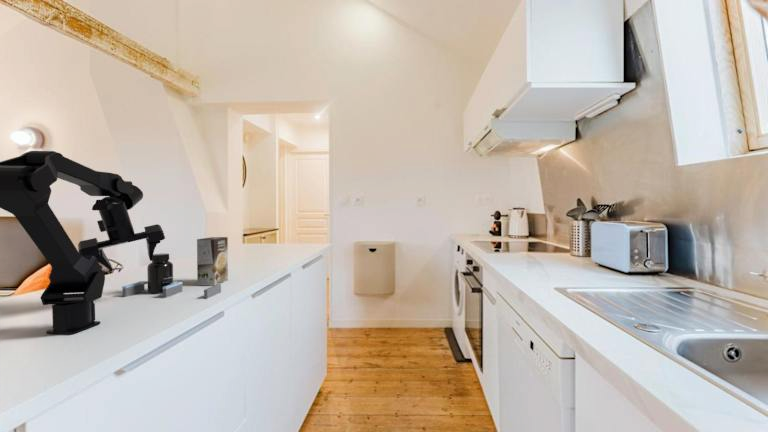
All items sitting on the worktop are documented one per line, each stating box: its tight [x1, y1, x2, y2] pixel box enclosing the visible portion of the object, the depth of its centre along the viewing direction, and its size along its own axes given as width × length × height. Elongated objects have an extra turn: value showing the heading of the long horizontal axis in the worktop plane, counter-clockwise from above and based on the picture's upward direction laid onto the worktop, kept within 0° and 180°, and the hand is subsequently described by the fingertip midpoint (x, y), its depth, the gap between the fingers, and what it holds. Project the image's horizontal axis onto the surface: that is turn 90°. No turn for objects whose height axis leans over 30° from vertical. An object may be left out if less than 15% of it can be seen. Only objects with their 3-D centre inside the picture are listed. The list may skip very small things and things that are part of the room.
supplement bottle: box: [146, 252, 174, 295], centre depth 105 cm, size 7×7×12 cm
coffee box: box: [196, 236, 229, 287], centre depth 117 cm, size 9×6×16 cm
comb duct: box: [121, 280, 222, 299], centre depth 101 cm, size 7×27×3 cm, turn 85°
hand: (132, 265), depth 95 cm, fingers open, 9 cm apart
